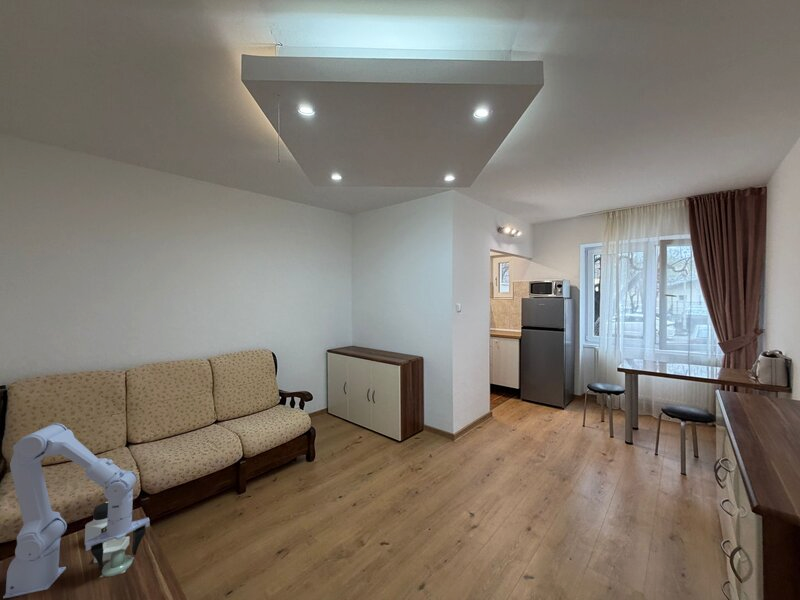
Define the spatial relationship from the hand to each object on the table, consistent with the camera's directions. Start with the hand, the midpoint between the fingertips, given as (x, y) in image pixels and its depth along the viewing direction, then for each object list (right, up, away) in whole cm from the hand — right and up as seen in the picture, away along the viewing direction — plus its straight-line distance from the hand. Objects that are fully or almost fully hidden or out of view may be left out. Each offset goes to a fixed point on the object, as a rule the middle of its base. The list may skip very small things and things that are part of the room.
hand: (117, 560), depth 96 cm
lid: (0, -2, 0) cm, 2 cm away
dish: (-7, -2, +5) cm, 9 cm away
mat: (0, -2, 0) cm, 2 cm away
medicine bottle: (-15, -3, +11) cm, 19 cm away
